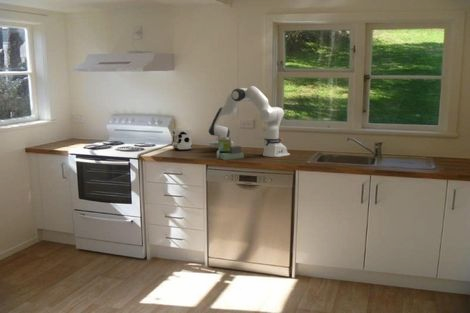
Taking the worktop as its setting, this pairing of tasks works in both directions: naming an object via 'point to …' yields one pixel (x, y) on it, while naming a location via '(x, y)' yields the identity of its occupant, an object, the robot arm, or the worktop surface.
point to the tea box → (224, 145)
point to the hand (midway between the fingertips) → (221, 145)
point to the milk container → (182, 139)
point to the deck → (231, 153)
